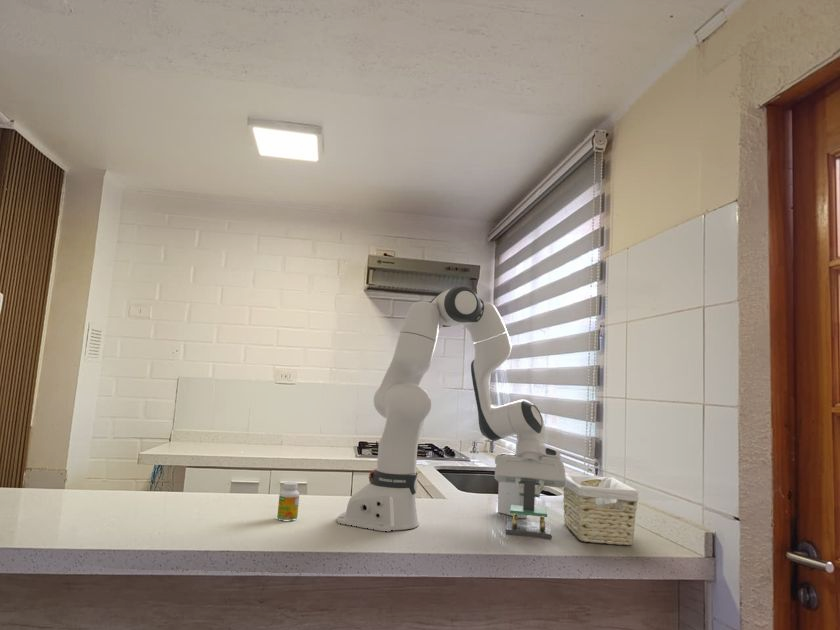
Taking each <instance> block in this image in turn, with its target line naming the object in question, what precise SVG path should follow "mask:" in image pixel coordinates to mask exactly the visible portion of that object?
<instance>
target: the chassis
mask: <svg viewBox="0 0 840 630" xmlns="http://www.w3.org/2000/svg"><path fill="white" fill-rule="evenodd" d="M550 524H551V523H546V520H545V517H541V516H539V522H537V521H535V522H534V521H527V520H520V519H519V520H518V517H517V514H513V516H512V519H507V523H506V526H505V527H506V528H505V534H506V535H514V536H521V537H531V538H541V539H547V540H549V539H550V540H552V530H551V525H550Z"/></svg>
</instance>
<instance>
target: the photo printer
mask: <svg viewBox="0 0 840 630" xmlns="http://www.w3.org/2000/svg"><path fill="white" fill-rule="evenodd" d="M520 486H521V487H523V488H524V484H520ZM497 492H498V494H497V512H498V513H500V514H504V515H507V516H512V517H513V513H510V509H511V505H521V506H523V503H524V496H519V491H518V489H517V488H516V486H515V483H507V482H498V488H497ZM527 517H528V515H522V514H517V519H526V518H527Z"/></svg>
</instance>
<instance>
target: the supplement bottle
mask: <svg viewBox="0 0 840 630" xmlns="http://www.w3.org/2000/svg"><path fill="white" fill-rule="evenodd" d="M298 486H299V485H298V482H296V481H283V482H282V490H281V491H280V492H279V495H278V497H279V498H278V508H277V517H276V518H278V519H280V520H293V519H296V518H297V519H298V513H299V504H300V492H299V491H298V490H297V489H298ZM278 519H277V520H278ZM280 520H279V521H280Z"/></svg>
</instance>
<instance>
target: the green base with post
mask: <svg viewBox="0 0 840 630" xmlns="http://www.w3.org/2000/svg"><path fill="white" fill-rule="evenodd" d="M535 489H536V485H535V480H533V479H524V503H523V506H521V505H511V509H510V513H513V514H522V515H527V516H532V517H533V516H534V517H540V516H541V517H544V518H548V510H547V509H548V508H546V507H541V506H539V507H538V506H535V498H536V497H535Z"/></svg>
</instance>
